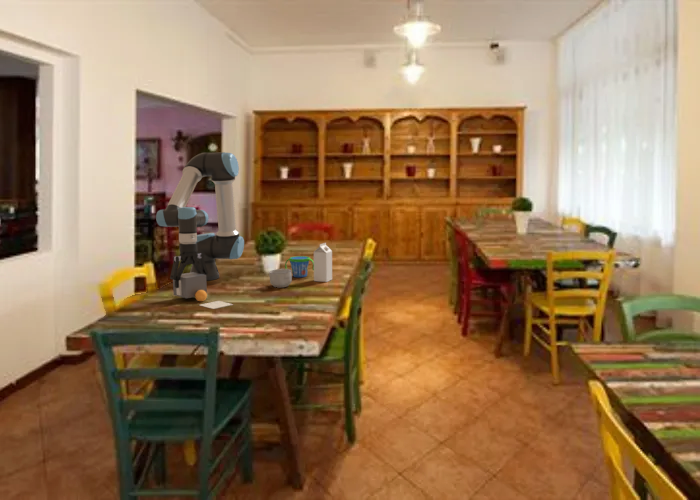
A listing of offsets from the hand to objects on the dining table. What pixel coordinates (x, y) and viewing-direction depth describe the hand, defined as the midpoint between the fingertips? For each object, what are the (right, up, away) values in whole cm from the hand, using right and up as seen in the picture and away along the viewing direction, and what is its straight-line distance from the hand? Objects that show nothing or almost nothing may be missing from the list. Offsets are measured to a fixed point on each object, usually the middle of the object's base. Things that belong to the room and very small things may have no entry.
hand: (190, 293), depth 255 cm
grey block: (0, -1, 0) cm, 1 cm away
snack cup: (+44, +5, +53) cm, 69 cm away
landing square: (+14, -4, -11) cm, 18 cm away
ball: (+6, -1, -5) cm, 8 cm away
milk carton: (+56, +3, +42) cm, 70 cm away
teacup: (+37, +1, +28) cm, 46 cm away
